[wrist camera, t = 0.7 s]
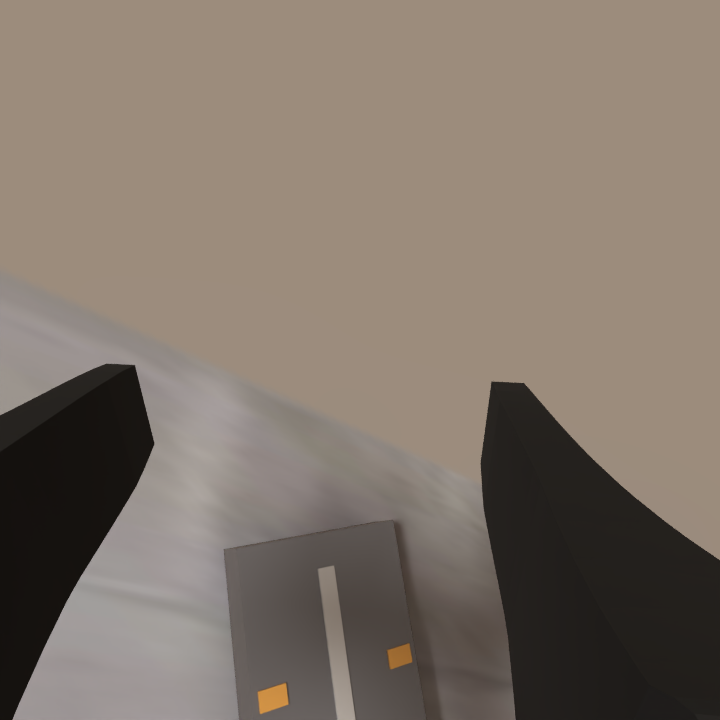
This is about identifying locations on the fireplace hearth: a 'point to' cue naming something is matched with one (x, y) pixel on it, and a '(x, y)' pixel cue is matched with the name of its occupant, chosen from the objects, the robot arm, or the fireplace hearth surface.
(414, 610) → the fireplace hearth surface
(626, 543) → the robot arm
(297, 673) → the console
